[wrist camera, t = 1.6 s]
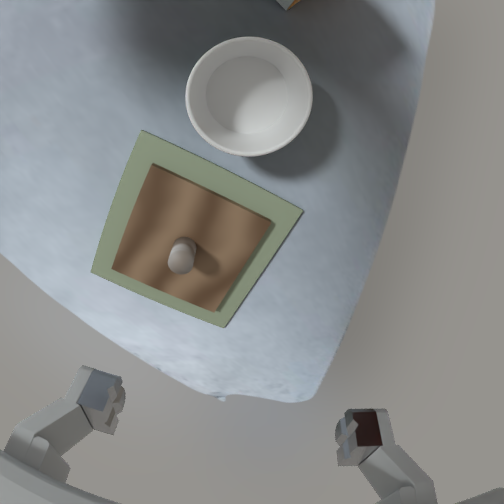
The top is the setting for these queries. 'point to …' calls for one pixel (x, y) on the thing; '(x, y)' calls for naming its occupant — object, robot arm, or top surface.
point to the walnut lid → (187, 239)
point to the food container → (249, 96)
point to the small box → (287, 3)
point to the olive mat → (212, 178)
